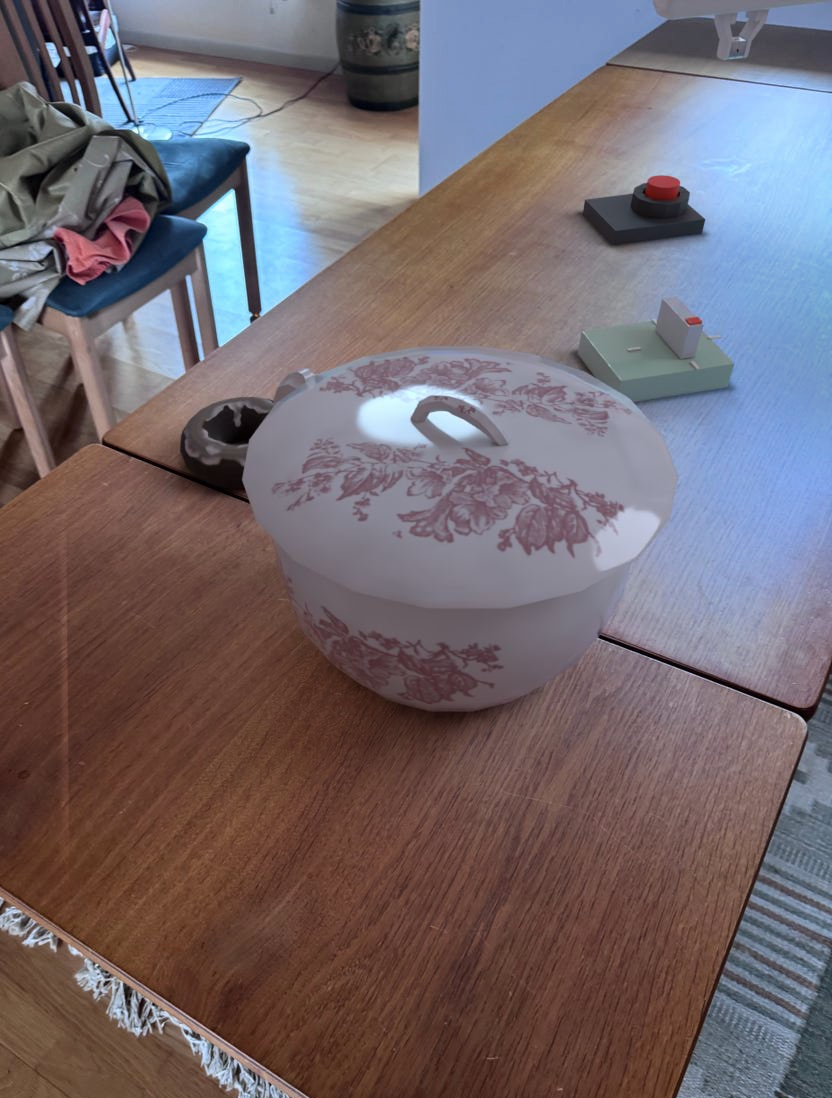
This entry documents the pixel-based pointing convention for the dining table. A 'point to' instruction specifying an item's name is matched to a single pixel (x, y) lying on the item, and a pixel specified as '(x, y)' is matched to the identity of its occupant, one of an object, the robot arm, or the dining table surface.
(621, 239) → the button block
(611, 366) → the tap panel
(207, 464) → the donut
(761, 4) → the robot arm
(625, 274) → the dining table surface
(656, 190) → the red button
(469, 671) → the chamber pot
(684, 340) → the grey rectangular block
